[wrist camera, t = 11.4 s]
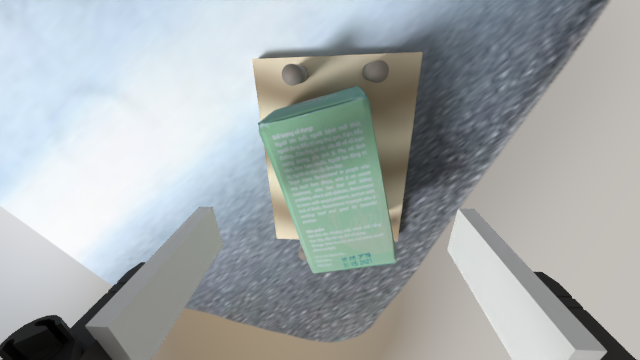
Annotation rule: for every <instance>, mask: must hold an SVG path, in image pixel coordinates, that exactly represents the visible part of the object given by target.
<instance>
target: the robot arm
mask: <svg viewBox="0 0 640 360" xmlns="http://www.w3.org/2000/svg"><path fill="white" fill-rule="evenodd" d="M222 247H223V242H222V239H221V235H220V232H219V228H218V224H217V221H216V217H215V214H214V210H213V207H199V208H198V209H197V210H196V211H195V212H194V213H193V214H192V215H191V216H190V217H189V218H188V219H187V220H186V221H185V222H184V223H183V224H182V226H181V227H180V228H179V229H178V230H177V231H176V232H175V233H174V234H173V235H172V236H171V237H170V238H169V239H168V240H167V241H166V242H165V243H164V244H163V245H162V246H161V247H160V248H159V249H158V251H157V252H156V253H155V254H154V255H153V256H152V257H151V258H150V259H149V260H148V261H147V262H146V263H145V262H141V263H140V264H138V265H137V266H135V267H134V268H132V269H131V270H129V271H128V272H127V273H126V274H125V275H124V276H123V277H122V278H121V279H120V280H119V281H118V282H117V284H115V285H114V286H113V287H112V288H111V289H110V290H109V291H108V293H106V294H105V295H104V296H103V297H102V298H101V299H100V300H99V301H98V302H97V303H96V304H95V305H94V306H93V307H92V308H91V309H90V310H89V311H88V312H87V313H86V314H85V315H84V316H83V317H82V318H81V319H80V320H78V321H77V322H76V323H75V325H74V326H73V327H72V328H69V327H68V326H67V324H66V323H65V322H64V321H63V320H62V318H60V317H58V316H57V315H51V316H45V317H42V318H39V319H36V320H34V321H32V322H30V323H28V324H26V325H24V326H23V327H21V328H20V329H18V330H17V331H15V332H14V333H12V334H11V335H10V336H9V337H8V338H7V339H6V340H5V341H4V342H3V343H1V345H0V356H1V358H3V359H2V360H152V358H153V357H154V355H155V354H156V352H157V351H158V349H159V347H160V346H161V344H162V343H163V341H164V339H165V338H166V336H167V335H168V333H169V331H170V329H171V328H172V327H173V325H174V323H175V322H176V320H177V319H178V317H179V315H180V314H181V312H182V311H183V309H184V307H185V306H186V304H187V303H188V301H189V299H190V298H191V296H192V295H193V293H194V291H195V290H196V288H197V287H198V285H199V283H200V282H201V280H202V279H203V277H204V275H205V274H206V272H207V271H208V269H209V267H210V266H211V264H212V263H213V261H214V259H215V258H216V256H217V255H218V253H219V251H220V250H221V248H222ZM447 250H448V252H449V254H450V255H451V257H452V258H453V260H454V262H455V264H456V265H457V267H458V269H459V270H460V272H461V274H462V275H463V277H464V279H465V281H466V282H467V284H468V286H469V287H470V289H471V291H472V293H473V294H474V296H475V298H476V299H477V301H478V302H479V304H480V306H481V308H482V309H483V311H484V313H485V315H486V316H487V318H488V319H489V321H490V323H491V325H492V326H493V328H494V330H495V331H496V333H497V335H498V336H499V338H500V340H501V341H502V343H503V345H504V347H505V348H506V350H507V352H508V353H509V355H510V357H511V359H512V360H636V359H635V358H634V357H633V356H632V355H630V354H629V353H628V352H627V351H626V350H625V349H624V348H623V347H622V346H621V345H620V344H619V343H618V342H617V341H616V340H615V339H614V338H613V337H612V336H611V335H610V334H609V333H608V332H607V331H606V330H605V329H604V328H603V327H602V326H601V325H600V324H599V323H598V322H597V321H596V320H595V319H594V318H593V317H592V316H591V315H590V314H589V313H588V312H587V311H586V310H584V309H583V307H582V306H581V305H580V304H579V303H578V302H577V301H576V300H575V299H572V296H571V295H570V294H569V293H568V292H567V291H566V290H565V289H564V288H563V287H562V286H561V285H560V284H559V283H558V282H556V281H555V280H553V279H552V278H550V277H549V276H547V275H546V274H544V273H543V272H533V271H532V270H531V269H530V268H529V267H528V266H527V265H526V264H525V263H524V262H523V261H522V260H521V259H520V258H519V256H518V255H517V254H516V253H515V252H514V251H513V250H512V249H511V248H510V247H509V246H508V245H507V244H506V243H505V241H504V240H503V239H502V238H501V237H500V236H499V235H498V234H497V233H496V232H495V231H494V230H493V229H492V228H491V227H490V226H489V224H488V223H487V222H486V221H485V220H484V219H483V218H482V217H481V216H480V215H479V214H478V213H477V212H476V211H475V210H474V209H458V211H457V215H456V219H455V223H454V226H453V230H452V234H451V237H450V241H449V245H448V248H447Z"/></svg>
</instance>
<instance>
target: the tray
mask: <svg viewBox="0 0 640 360" xmlns="http://www.w3.org/2000/svg"><path fill="white" fill-rule="evenodd" d="M422 55H423V52H407V53H383V54H359V55H335V56H311V57H287V58H264V59H252V61H253V68H254V76H255V83H256V90H257V97H258V105H259V112H260V119H261V121H262V120H263V119H264V118H265V117H266V116H267V115H269V114H270V113H271V112H273V111H274V110H276V109H280V108H283V107H287V106H290V105H294V104H297V103H301V102H304V101H308V100H311V99H314V98H318V97H321V96H325V95H328V94H332V93H335V92H339V91H342V90H345V89H348V88H352V87H355V86H358V87H360V88H361V89H362V90H363V91H364V92H365V93H366V96H367V98H368V100H369V102H370V107H371V117H372V122H373V127H374V133H375V138H376V144H377V149H378V155H379V160H380V166H381V171H382V177H383V182H384V188H385V193H386V199H387V204H388V210H389V215H390V221H391V226H392V232H393V237H394V241H398V234H399V227H400V219H401V212H402V204H403V197H404V189H405V182H406V174H407V167H408V160H409V152H410V145H411V137H412V130H413V122H414V115H415V107H416V100H417V92H418V85H419V77H420V70H421V62H422ZM264 148H265V146H264ZM265 155H266V163H267V170H268V177H269V184H270V192H271V199H272V206H273V213H274V221H275V228H276V235H277V239H299V237H298V234H297V231H296V228H295V225H294V223H293V220H292V217H291V215H290V212H289V209H288V206H287V204H286V201H285V198H284V195H283V193H282V190H281V187H280V185H279V182H278V179H277V177H276V174H275V171H274V169H273V166H272V164H271V161H270V158H269V156H268V153H267V151H266V148H265ZM298 255H299V258H300V259H302V260H306V261H307V259H306V256H305V253H304V250H303V248H302V245H300V249H299V254H298Z"/></svg>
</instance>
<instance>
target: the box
mask: <svg viewBox="0 0 640 360" xmlns="http://www.w3.org/2000/svg"><path fill="white" fill-rule="evenodd" d="M258 124H259V134H260V136H261V138H262V141H263V143H264V146H265V148H266V151H267V153H268V156H269V158H270V161H271V164H272V166H273V169H274V171H275V174H276V177H277V179H278V182H279V185H280V187H281V190H282V193H283V195H284V198H285V201H286V204H287V206H288V209H289V212H290V215H291V217H292V220H293V223H294V225H295V228H296V231H297V234H298V237H299V239H300V242H301V245H302V248H303V250H304V253H305V256H306V259H307V261H308V263H309V266H310V268H311V270H312V272H313V274H314V273H321V272H330V271H338V270H346V269H354V268H362V267H370V266H379V265H388V264H393V263H396V250H395V243H394V237H393V232H392V226H391V221H390V215H389V210H388V204H387V199H386V193H385V188H384V182H383V177H382V171H381V166H380V160H379V155H378V149H377V144H376V138H375V133H374V127H373V122H372V117H371V107H370V102H369V100H368V98H367V96H366V93H365V92H364V91H363V90H362V89H361V88H360V87H358V86H355V87H352V88H348V89H345V90H342V91H339V92H335V93H332V94H328V95H325V96H321V97H318V98H314V99H311V100H308V101H304V102H301V103H297V104H294V105H290V106H287V107H283V108H280V109H276V110H274V111H273V112H271V113H270V114H269V115H267V116H266V117H265V118H264V119H263V120H262V121H260V122H259V123H258Z"/></svg>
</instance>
